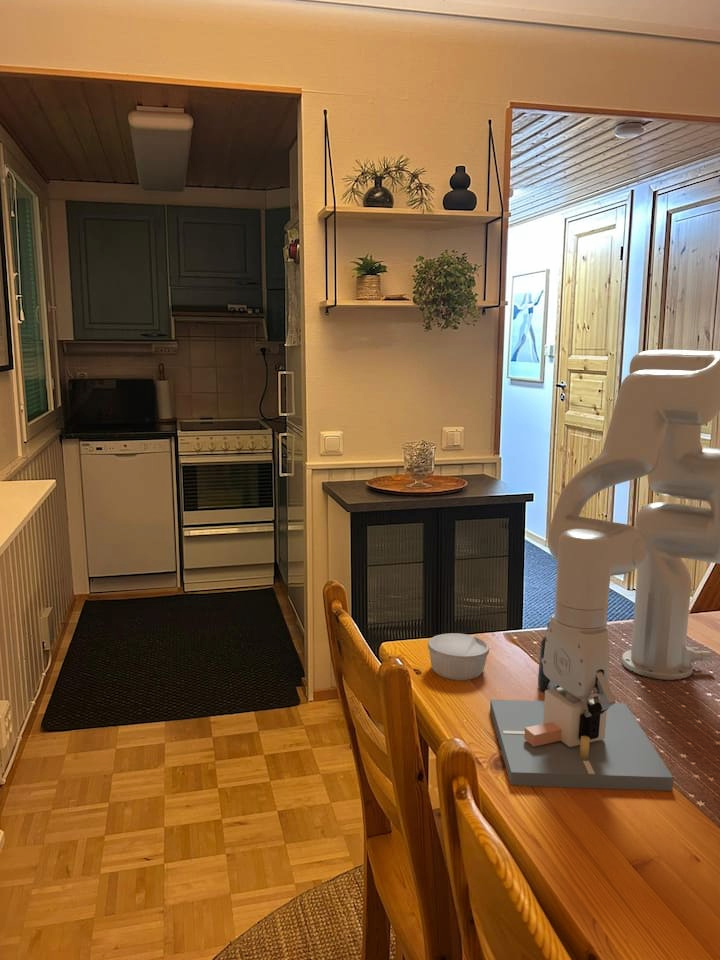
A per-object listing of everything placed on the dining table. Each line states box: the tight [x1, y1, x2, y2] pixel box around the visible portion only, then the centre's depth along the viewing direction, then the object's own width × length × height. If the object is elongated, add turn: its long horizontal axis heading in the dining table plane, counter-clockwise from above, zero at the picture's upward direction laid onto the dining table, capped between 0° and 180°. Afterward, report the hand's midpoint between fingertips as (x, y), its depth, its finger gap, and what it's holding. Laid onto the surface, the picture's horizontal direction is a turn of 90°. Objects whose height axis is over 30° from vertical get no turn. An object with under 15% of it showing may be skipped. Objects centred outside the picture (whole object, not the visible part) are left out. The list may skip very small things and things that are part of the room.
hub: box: [524, 687, 607, 747], centre depth 115 cm, size 11×6×6 cm, turn 113°
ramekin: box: [427, 632, 490, 681], centre depth 143 cm, size 11×11×5 cm
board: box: [489, 691, 674, 792], centre depth 116 cm, size 22×22×9 cm
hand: (573, 726), depth 116 cm, fingers closed on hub, 6 cm apart
